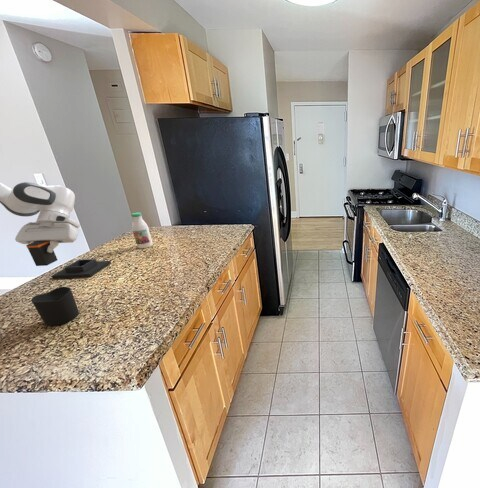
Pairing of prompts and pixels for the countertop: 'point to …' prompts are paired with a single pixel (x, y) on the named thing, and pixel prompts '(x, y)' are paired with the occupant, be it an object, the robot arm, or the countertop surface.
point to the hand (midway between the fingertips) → (40, 252)
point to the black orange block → (41, 253)
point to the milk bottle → (141, 231)
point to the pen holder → (56, 306)
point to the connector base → (81, 269)
